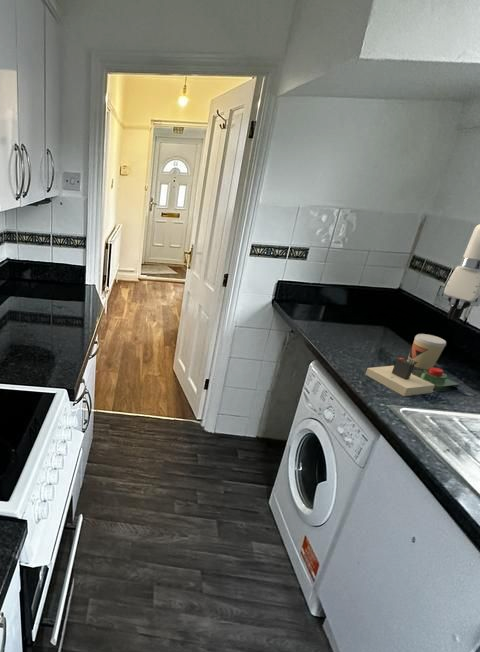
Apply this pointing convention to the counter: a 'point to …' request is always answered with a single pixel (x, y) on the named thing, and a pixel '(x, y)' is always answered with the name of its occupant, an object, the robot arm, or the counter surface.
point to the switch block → (436, 380)
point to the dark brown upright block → (403, 368)
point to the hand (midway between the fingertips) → (452, 318)
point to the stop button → (436, 371)
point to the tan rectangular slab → (400, 381)
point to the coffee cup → (426, 350)
